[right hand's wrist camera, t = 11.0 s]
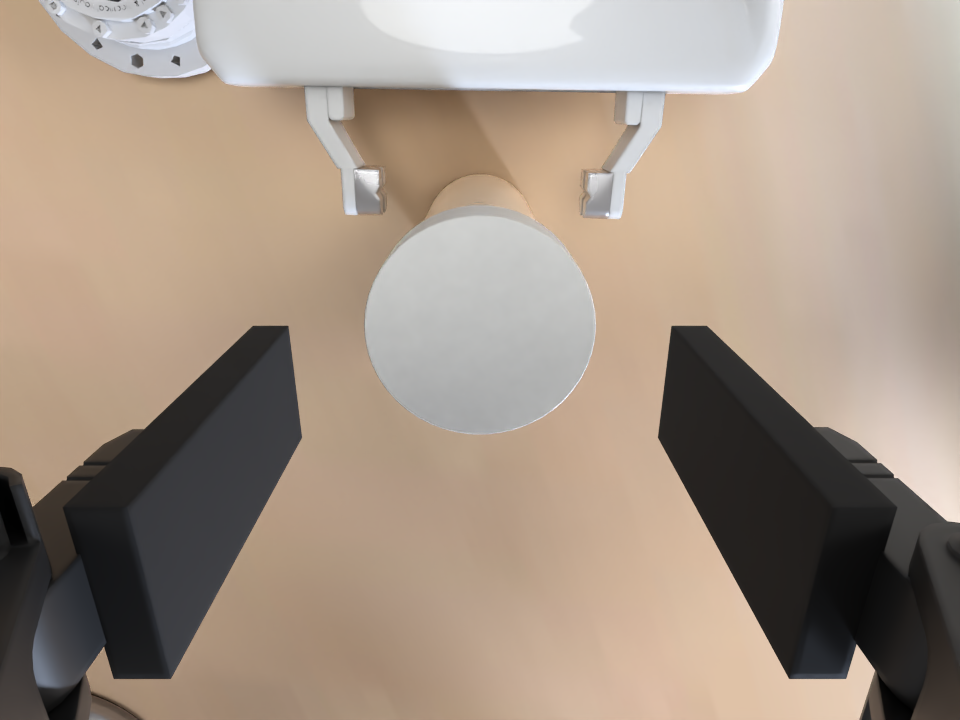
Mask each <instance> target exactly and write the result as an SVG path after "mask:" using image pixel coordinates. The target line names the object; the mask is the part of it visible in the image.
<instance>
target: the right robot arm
mask: <svg viewBox="0 0 960 720" xmlns="http://www.w3.org/2000/svg"><path fill="white" fill-rule="evenodd" d="M301 438H302V434H301V426H300V418H299V409H298V401H297V393H296V385H295V377H294V368H293V360H292V352H291V344H290V336H289V327H288V326H253V327H251V328H250V329H249V330H248V331H247V332H246V333H245V334H244V335H243V336H242V337H241V338H240V339H239V340H238V341H237V342H236V343H235V344H234V345H233V346H231V347H230V348H229V349H228V350H227V351H226V352H225V353H224V354H223V355H222V356H221V357H220V358H219V359H218V360H217V361H216V362H215V363H214V364H213V365H212V366H210V367H209V368H208V369H207V370H206V371H205V372H204V373H203V374H202V375H201V376H200V377H199V378H198V379H197V380H196V381H195V382H194V383H193V384H192V385H190V386H189V387H188V388H187V389H186V390H185V391H184V392H183V393H182V394H181V395H180V396H179V397H178V398H177V399H176V400H175V401H174V402H173V403H172V404H170V405H169V406H168V407H167V408H166V409H165V410H164V411H163V412H162V413H161V414H160V415H159V416H158V417H157V418H156V419H155V420H154V421H153V422H152V423H150V424H149V425H148V426H147V427H146V428H145V429H132V430H130V431H128V432H127V433H125V434H123V435H121V436H119V437H117V438H115V439H113V440H111V441H109V442H107V443H105V444H103V445H102V446H101V447H100V448H99V449H98V450H97V451H96V452H94V453H93V454H92V455H91V456H90V457H89V458H88V459H87V460H85V461H84V465H83V466H79V467H78V468H76V469H75V470H74V471H73V472H72V473H71V474H70V475H69V476H67V481H62V482H61V483H59V484H58V485H57V486H56V487H55V488H54V489H53V490H52V491H50V492H49V493H48V494H47V495H46V496H45V497H44V498H43V499H41V500H40V501H39V502H38V503H37V504H36V505H35V506H34V507H32V505H31V502H30V499H29V496H28V493H27V490H26V486H25V483H24V480H23V477H22V474H20V473H19V472H17V471H15V470H14V469H12V468H6V467H0V720H138V719H137V718H135V717H134V716H133V715H131V714H130V713H128V712H127V711H125V710H123V709H122V708H120V707H118V706H116V705H114V704H112V703H110V702H108V701H106V700H104V699H101V698H99V697H96V696H93V695H91V691H90V685H89V682H88V679H87V676H86V673H85V672H86V671H87V670H88V668H89V667H90V665H91V664H92V663H93V661H94V660H95V658H96V657H97V655H98V654H99V653H100V651H101V650H102V648H103V647H105V651H106V654H107V657H108V661H109V664H110V667H111V671H112V674H113V677H114V679H171V677H172V676H173V674H174V672H175V670H176V668H177V666H178V665H179V663H180V661H181V659H182V657H183V655H184V654H185V652H186V650H187V648H188V646H189V644H190V642H191V641H192V639H193V637H194V635H195V633H196V631H197V630H198V628H199V626H200V624H201V622H202V620H203V619H204V617H205V615H206V613H207V611H208V609H209V608H210V606H211V604H212V602H213V600H214V598H215V597H216V595H217V593H218V591H219V589H220V587H221V586H222V584H223V582H224V580H225V578H226V576H227V574H228V573H229V571H230V569H231V567H232V565H233V563H234V562H235V560H236V558H237V556H238V554H239V552H240V551H241V549H242V547H243V545H244V543H245V541H246V540H247V538H248V536H249V534H250V532H251V530H252V529H253V527H254V525H255V523H256V521H257V519H258V517H259V516H260V514H261V512H262V510H263V508H264V506H265V505H266V503H267V501H268V499H269V497H270V495H271V494H272V492H273V490H274V488H275V486H276V484H277V483H278V481H279V479H280V477H281V475H282V473H283V472H284V470H285V468H286V466H287V464H288V462H289V460H290V459H291V457H292V455H293V453H294V451H295V449H296V448H297V446H298V444H299V442H300V440H301ZM658 438H659V440H660V442H661V444H662V446H663V448H664V449H665V451H666V453H667V455H668V457H669V459H670V461H671V462H672V464H673V466H674V468H675V470H676V472H677V473H678V475H679V477H680V479H681V481H682V483H683V484H684V486H685V488H686V490H687V492H688V494H689V495H690V497H691V499H692V501H693V503H694V505H695V506H696V508H697V510H698V512H699V514H700V516H701V517H702V519H703V521H704V523H705V525H706V527H707V529H708V530H709V532H710V534H711V536H712V538H713V540H714V541H715V543H716V545H717V547H718V549H719V551H720V552H721V554H722V556H723V558H724V560H725V562H726V563H727V565H728V567H729V569H730V571H731V573H732V574H733V576H734V578H735V580H736V582H737V584H738V586H739V587H740V589H741V591H742V593H743V595H744V597H745V598H746V600H747V602H748V604H749V606H750V608H751V609H752V611H753V613H754V615H755V617H756V619H757V620H758V622H759V624H760V626H761V628H762V630H763V631H764V633H765V635H766V637H767V639H768V641H769V642H770V644H771V646H772V648H773V650H774V652H775V654H776V655H777V657H778V659H779V661H780V663H781V665H782V666H783V668H784V670H785V672H786V674H787V676H788V677H789V679H846V677H847V674H848V671H849V667H850V664H851V661H852V657H853V654H854V651H855V647H856V644H857V645H858V646H859V648H860V649H861V651H862V652H863V653H864V655H865V656H866V658H867V659H868V660H869V662H870V663H871V665H872V666H873V668H874V669H875V673H874V676H873V679H872V682H871V685H870V689H869V692H868V695H867V698H866V701H865V704H864V707H863V710H862V713H861V716H860V720H960V523H956V522H947V521H946V520H945V519H944V518H943V517H941V516H940V515H939V514H938V513H937V512H936V511H935V510H933V509H932V508H931V507H930V506H929V505H928V504H927V503H926V502H924V501H923V500H922V499H921V498H920V497H919V496H918V495H916V494H915V493H914V492H913V491H912V490H911V489H910V488H908V487H907V486H906V485H905V484H904V483H903V482H902V481H901V480H899V479H898V478H894V474H893V473H891V472H890V471H889V470H888V469H887V468H886V467H885V466H883V465H882V464H881V463H877V459H876V458H874V457H873V456H872V455H871V454H870V453H869V452H868V451H866V450H865V449H864V448H863V447H862V446H861V445H860V444H859V443H857V442H856V441H854V440H852V439H850V438H848V437H846V436H844V435H842V434H840V433H838V432H836V431H834V430H832V429H830V428H828V427H813V426H812V425H811V424H810V423H808V422H807V421H806V420H805V419H804V418H803V417H802V416H801V415H800V414H799V413H798V412H797V411H796V410H795V409H794V408H793V407H792V406H791V405H790V404H788V403H787V402H786V401H785V400H784V399H783V398H782V397H781V396H780V395H779V394H778V393H777V392H776V391H775V390H774V389H773V388H772V387H771V386H770V385H768V384H767V383H766V382H765V381H764V380H763V379H762V378H761V377H760V376H759V375H758V374H757V373H756V372H755V371H754V370H753V369H752V368H751V367H750V366H748V365H747V364H746V363H745V362H744V361H743V360H742V359H741V358H740V357H739V356H738V355H737V354H736V353H735V352H734V351H733V350H732V349H731V348H730V347H728V346H727V345H726V344H725V343H724V342H723V341H722V340H721V339H720V338H719V337H718V336H717V335H716V334H715V333H714V332H713V331H712V330H711V329H710V328H709V327H707V326H672V327H671V336H670V344H669V352H668V360H667V368H666V377H665V385H664V393H663V401H662V409H661V418H660V426H659V434H658Z"/></svg>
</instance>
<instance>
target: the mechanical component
mask: <svg viewBox="0 0 960 720" xmlns="http://www.w3.org/2000/svg"><path fill="white" fill-rule="evenodd" d="M39 2H40V3H41V4H42V6H43V7H44V8H45V10H46V11H47V12H48V14H49V15H50V16H51V18H52V19H53V20H54V22H55V23H56V24H57V26H58V27H59V28H60V30H61V31H62V32H64V33H65V34H66V35H67V36H68V37H69V38H71V39H72V40H73V41H74V42H75V43H77V44H78V45H79V46H80V47H81V48H83V49H84V50H85V51H86V52H87V53H88V54H90V55H91V56H93V57H95V58H97V59H99V60H101V61H103V62H105V63H107V64H109V65H111V66H113V67H115V68H117V69H118V70H120V71H122V72H126V73H131V74H137V75H142V76H147V77H156V78H181V77H189V76H193V75H197V74H201V73H205V72H207V71H209V70H211V68H210V67H209V66H208V64H207V63H206V62H205V61H204V60H203V58H202V57H201V55H200V53H199V50H198V46H197V41H196V33H195V22H194V10H193V0H39ZM143 64H144V66H143Z"/></svg>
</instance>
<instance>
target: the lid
mask: <svg viewBox="0 0 960 720" xmlns="http://www.w3.org/2000/svg"><path fill="white" fill-rule="evenodd" d="M364 330H365V341H366V346H367V350H368V354H369V357H370V360H371V363H372V366H373V368H374V370H375V372H376V374H377V375H378V377H379V379H380V381H381V382H382V384H383V385H384V386H385V388H386V389H387V391H388V392H389V393H390V394H391V395H392V396H393V397H394V398H395V400H396V401H397V402H399V403H400V404H401V405H402V406H403V407H404V408H405V409H407V410H408V411H409V412H411V413H412V414H414V415H415V416H417V417H418V418H420V419H422V420H424V421H426V422H428V423H430V424H432V425H435V426H437V427H440V428H443V429H446V430H450V431H454V432H458V433H467V434H493V433H501V432H506V431H510V430H514V429H517V428H520V427H523V426H526V425H528V424H530V423H532V422H534V421H536V420H538V419H540V418H542V417H543V416H545V415H546V414H548V413H549V412H551V411H552V410H553V409H554V408H556V407H557V406H558V405H559V404H560V403H562V402H563V401H564V399H565V398H566V397H567V396H568V395H569V394H570V393H571V392H572V391H573V389H574V388H575V386H576V385H577V384H578V382H579V381H580V379H581V377H582V375H583V373H584V372H585V370H586V368H587V365H588V362H589V360H590V357H591V354H592V350H593V346H594V341H595V330H596V320H595V309H594V304H593V299H592V295H591V292H590V290H589V287H588V284H587V282H586V280H585V278H584V276H583V274H582V272H581V270H580V268H579V267H578V265H577V264H576V262H575V261H574V259H573V257H572V256H571V254H570V253H569V251H568V250H567V249H566V247H565V246H564V244H563V243H562V242H561V241H560V240H559V239H558V238H557V237H556V236H555V235H554V234H553V233H552V232H551V231H550V230H548V229H547V228H546V227H545V226H543V225H542V224H541V223H539V222H537V221H536V220H534V219H532V218H531V217H528V216H526V215H524V214H522V213H519V212H517V211H514V210H510V209H506V208H503V207H496V206H489V205H472V206H464V207H457V208H454V209H450V210H446V211H443V212H441V213H438V214H436V215H434V216H431V217H430V218H428V219H426V220H424V221H423V222H421V223H419V224H418V225H417V226H415V227H414V228H413V229H412V230H410V231H409V232H408V233H407V234H406V235H405V236H404V237H403V238H402V239H401V240H400V241H399V242H398V243H397V244H396V246H395V247H394V249H393V250H392V251H391V253H390V254H389V256H388V257H387V259H386V260H385V262H384V264H383V265H382V267H381V268H380V270H379V272H378V274H377V276H376V278H375V280H374V281H373V284H372V287H371V289H370V292H369V295H368V299H367V304H366V308H365V319H364Z"/></svg>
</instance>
